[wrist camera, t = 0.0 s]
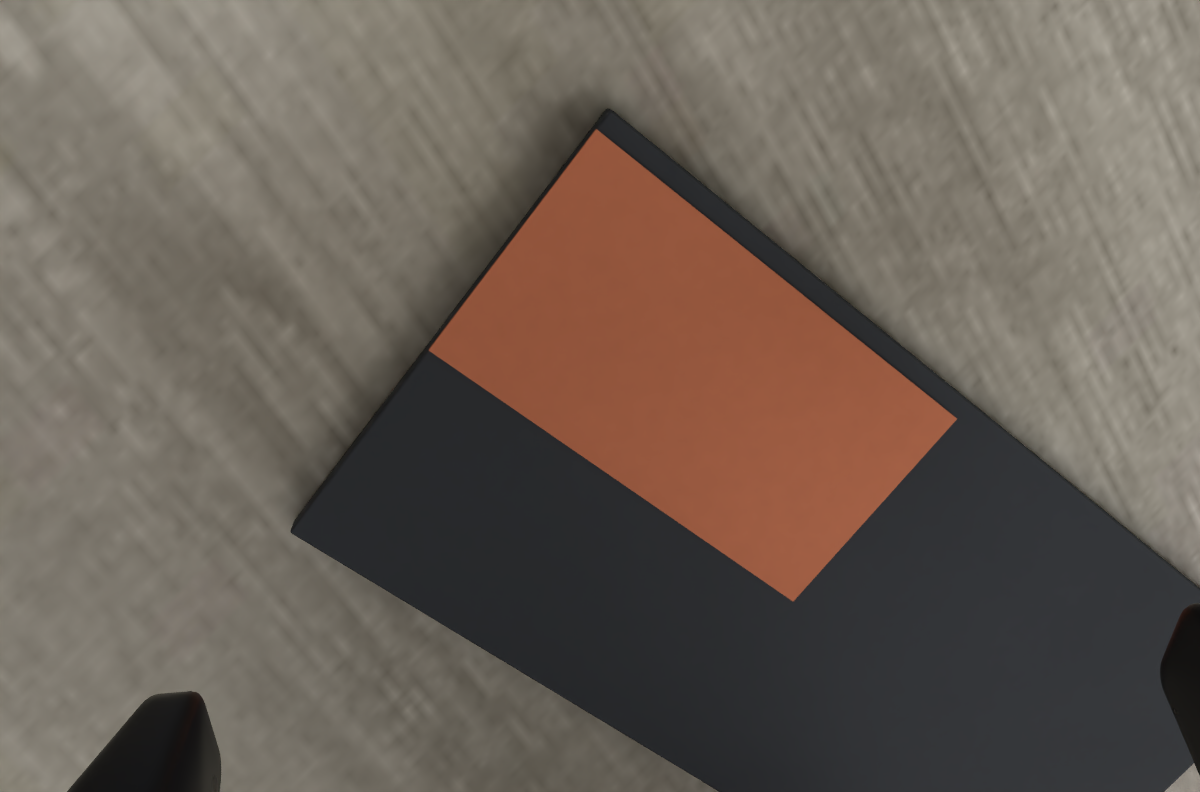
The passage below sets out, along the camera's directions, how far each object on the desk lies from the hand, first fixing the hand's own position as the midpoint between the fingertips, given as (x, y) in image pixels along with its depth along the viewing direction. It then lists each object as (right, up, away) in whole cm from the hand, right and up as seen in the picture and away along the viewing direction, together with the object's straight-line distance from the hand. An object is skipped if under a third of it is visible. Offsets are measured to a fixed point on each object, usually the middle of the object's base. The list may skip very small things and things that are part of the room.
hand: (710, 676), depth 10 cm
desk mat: (+5, -3, +18) cm, 19 cm away
